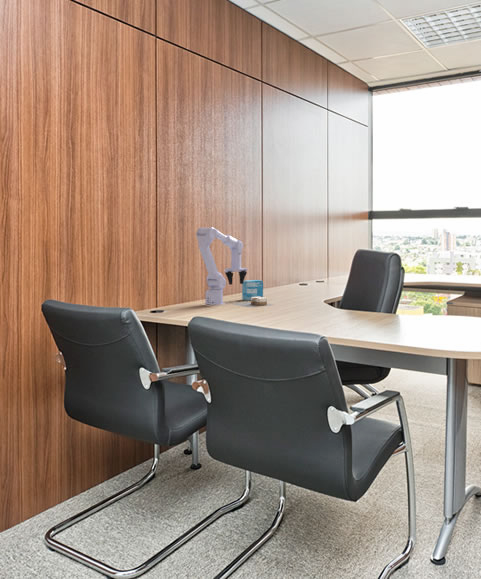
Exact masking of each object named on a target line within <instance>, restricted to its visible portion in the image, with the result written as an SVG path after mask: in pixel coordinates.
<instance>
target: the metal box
mask: <svg viewBox="0 0 481 579" xmlns="http://www.w3.org/2000/svg"><path fill="white" fill-rule="evenodd" d="M267 300H268V298H267V297H264V296H263V297H251V300H250V302H251V304H252V305H258V307H264V306H263V305H267V304H268V301H267Z"/></svg>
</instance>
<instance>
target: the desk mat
mask: <svg viewBox="0 0 481 579" xmlns="http://www.w3.org/2000/svg"><path fill="white" fill-rule="evenodd" d="M233 305H235V306H239V307H245V308H258V307H259V306H258V305H252V304H251V301H250V302H249V301H246V302H235V303H233ZM267 306H268V307H269V306H274V304H271V303H267V305H263V306H262V307H267Z"/></svg>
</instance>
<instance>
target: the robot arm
mask: <svg viewBox="0 0 481 579" xmlns="http://www.w3.org/2000/svg"><path fill="white" fill-rule="evenodd" d="M195 236H196V239H197V243H198V249H199V252H200V254H201V255H200V256H201V257H202V260H203V262H204V265H205V268H206V271H207V273H208V274H207V276H206V284H207V286H208V289H207V290H206V291H205V302H204V305H207V306H217V305H226V303H225V302H224V289H225V287H226V285H227V281H228V285H233V279H234V278H233V276H234V273H237V272H238V275H239V284H241V285H242V284H243V281H245V277H246V275H247V274H248V267H242V252H243V249H244V244H243V241H241V240H240V239H237V238H236V237H233V236H232V235H231V234H226V235H225V234H223V233H222V232H221V231H219V230H218V229H217V228H215V227H213V226H212V227H201V226H200V227H198V229H197V231H196V234H195ZM215 239H217V240H220V241H221V242H222V244H223V245H225V246H226V247H228V248H229V249H230V252H231V254H230V263H231V264H230V267H229V268H224V274H225V276H226V277H227V278H225V277H224V276H223V274H222V273H221V272H219V271H218V267H217V264H216V261H215V258H214V256H213V252H212V251H211V248H210V247H211V246H210V245H211V244H212V243H213V242H214V240H215ZM226 279H227V280H226Z"/></svg>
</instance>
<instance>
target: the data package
mask: <svg viewBox="0 0 481 579" xmlns="http://www.w3.org/2000/svg"><path fill="white" fill-rule="evenodd" d="M241 285H242V286H241V289H242V290H241V292H242V293H241V294H242V295H241V300H243V301H251V297H264V282H263V280H260V279H251V280H244V281H243V284H241Z"/></svg>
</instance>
